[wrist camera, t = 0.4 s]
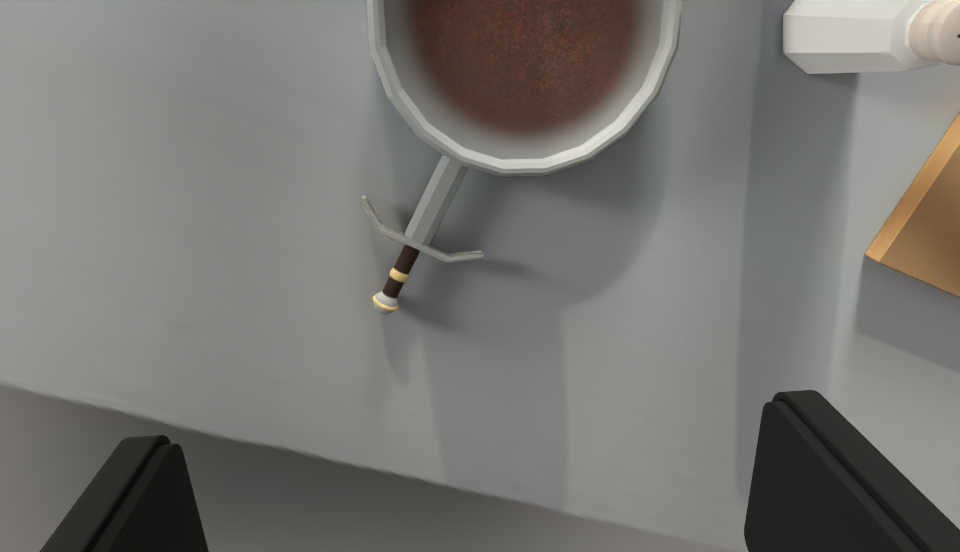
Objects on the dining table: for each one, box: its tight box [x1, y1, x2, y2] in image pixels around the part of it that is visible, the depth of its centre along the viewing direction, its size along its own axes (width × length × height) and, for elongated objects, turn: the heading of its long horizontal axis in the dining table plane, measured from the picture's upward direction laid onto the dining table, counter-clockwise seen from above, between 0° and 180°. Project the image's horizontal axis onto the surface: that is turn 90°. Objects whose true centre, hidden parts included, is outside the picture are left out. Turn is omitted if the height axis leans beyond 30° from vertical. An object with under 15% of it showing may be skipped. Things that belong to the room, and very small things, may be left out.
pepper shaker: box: [783, 0, 960, 74], centre depth 32 cm, size 5×5×11 cm
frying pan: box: [361, 0, 683, 314], centre depth 36 cm, size 17×3×28 cm
